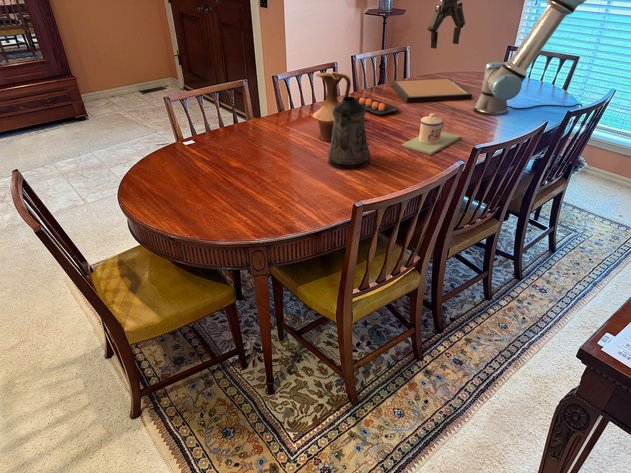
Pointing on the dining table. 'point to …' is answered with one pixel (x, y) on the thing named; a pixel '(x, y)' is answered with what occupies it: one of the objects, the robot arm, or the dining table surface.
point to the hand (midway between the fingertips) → (444, 45)
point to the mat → (431, 148)
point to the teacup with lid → (430, 129)
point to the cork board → (430, 90)
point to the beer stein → (348, 136)
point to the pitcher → (329, 103)
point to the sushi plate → (376, 106)
